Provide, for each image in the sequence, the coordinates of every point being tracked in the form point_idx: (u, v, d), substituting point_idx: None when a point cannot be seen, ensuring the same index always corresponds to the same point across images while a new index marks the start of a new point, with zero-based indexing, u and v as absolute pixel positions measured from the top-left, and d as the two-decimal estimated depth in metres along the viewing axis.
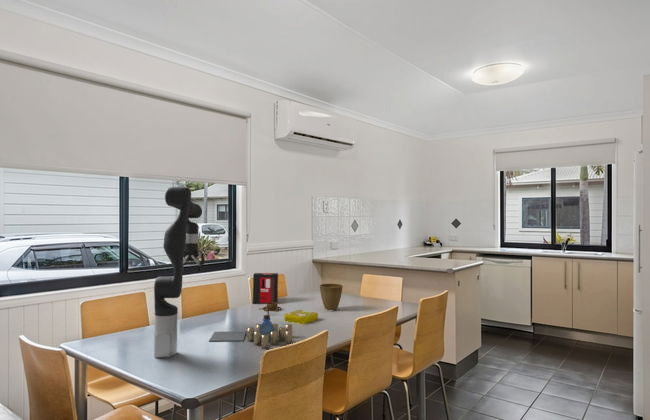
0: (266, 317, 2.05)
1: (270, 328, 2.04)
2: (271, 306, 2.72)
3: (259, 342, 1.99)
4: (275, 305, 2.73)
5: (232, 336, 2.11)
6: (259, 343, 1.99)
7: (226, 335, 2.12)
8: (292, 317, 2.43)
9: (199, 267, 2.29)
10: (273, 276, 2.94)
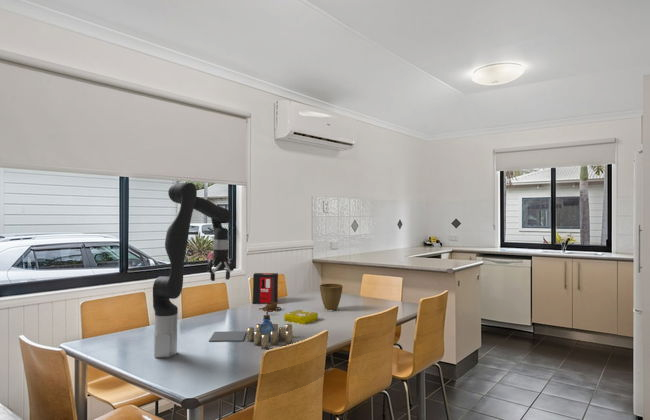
0: (266, 317, 2.05)
1: (270, 328, 2.04)
2: (271, 306, 2.72)
3: (259, 342, 1.99)
4: (275, 305, 2.73)
5: (232, 336, 2.11)
6: (259, 343, 1.99)
7: (226, 335, 2.12)
8: (292, 317, 2.43)
9: (229, 273, 2.23)
10: (273, 276, 2.94)
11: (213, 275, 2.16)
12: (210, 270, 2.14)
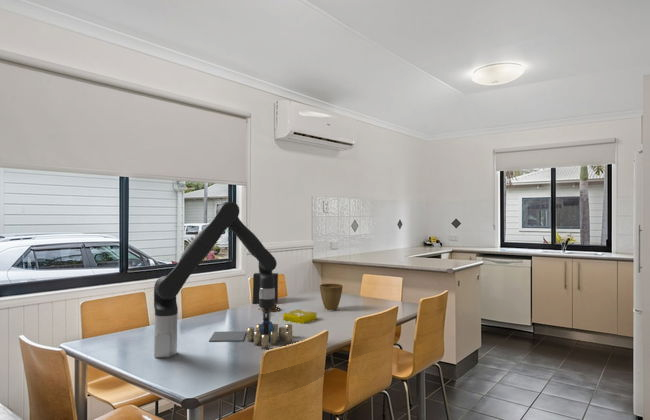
0: None
1: (270, 328, 2.04)
2: None
3: (259, 342, 1.99)
4: (274, 306, 2.71)
5: (232, 336, 2.11)
6: (259, 343, 1.99)
7: (226, 335, 2.12)
8: (290, 316, 2.44)
9: None
10: None
11: (268, 328, 2.03)
12: (268, 323, 2.01)
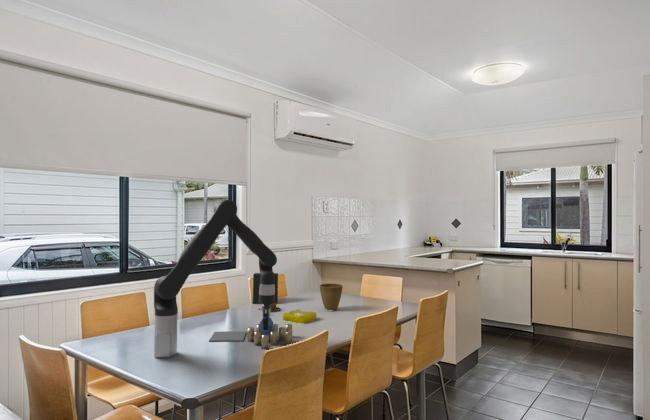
0: None
1: (270, 324, 2.04)
2: None
3: (259, 342, 1.99)
4: (273, 306, 2.71)
5: (232, 336, 2.11)
6: (259, 343, 1.99)
7: (226, 335, 2.12)
8: (290, 316, 2.44)
9: None
10: None
11: (267, 324, 2.03)
12: (268, 319, 2.01)
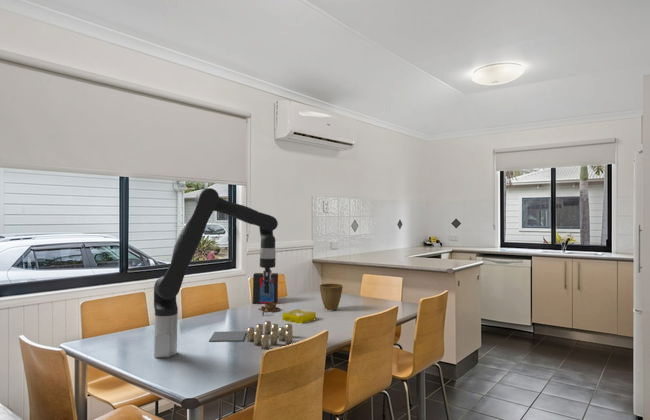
0: None
1: (271, 287, 2.04)
2: (269, 307, 2.70)
3: (259, 342, 1.99)
4: (273, 306, 2.71)
5: (232, 336, 2.11)
6: (259, 343, 1.99)
7: (226, 335, 2.12)
8: (290, 316, 2.45)
9: None
10: (273, 276, 2.94)
11: (268, 287, 2.03)
12: None
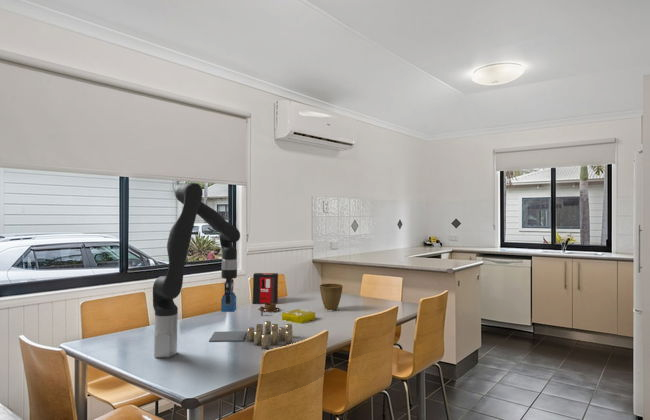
0: None
1: (232, 298, 2.09)
2: (268, 307, 2.69)
3: (259, 342, 1.99)
4: (272, 306, 2.70)
5: (232, 336, 2.11)
6: (259, 343, 1.99)
7: (226, 335, 2.12)
8: (289, 316, 2.45)
9: None
10: (273, 276, 2.94)
11: (229, 297, 2.08)
12: (229, 293, 2.06)
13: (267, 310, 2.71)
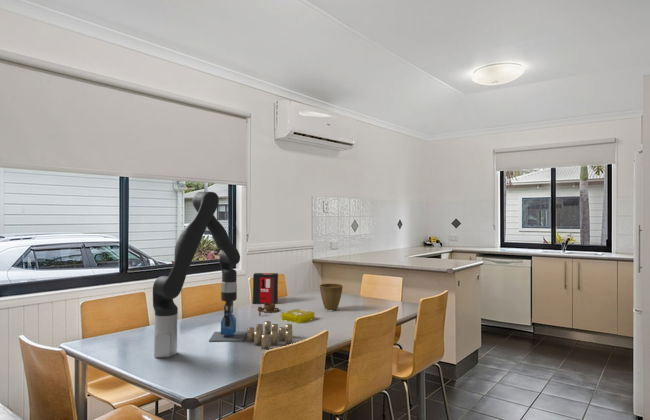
0: None
1: (231, 321, 2.09)
2: (267, 307, 2.69)
3: (259, 342, 1.99)
4: (272, 306, 2.69)
5: (232, 336, 2.11)
6: (259, 343, 1.99)
7: (226, 335, 2.12)
8: (288, 316, 2.46)
9: None
10: (273, 276, 2.94)
11: (229, 320, 2.08)
12: (229, 315, 2.06)
13: (266, 310, 2.71)
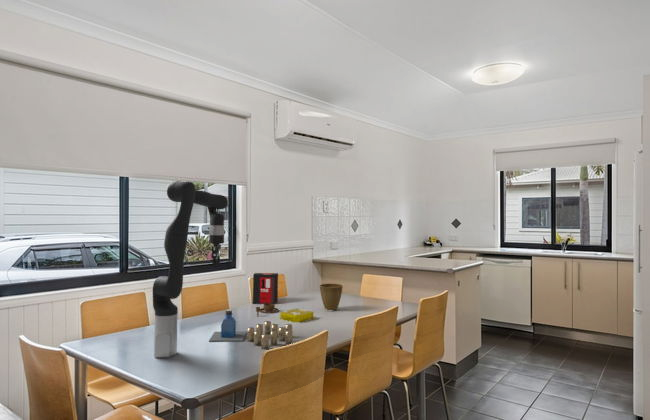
0: (228, 313, 2.11)
1: (232, 323, 2.09)
2: (266, 307, 2.68)
3: (259, 342, 1.99)
4: (271, 307, 2.68)
5: None
6: (259, 343, 1.99)
7: None
8: (287, 315, 2.47)
9: None
10: (273, 276, 2.94)
11: (216, 261, 2.16)
12: (216, 256, 2.14)
13: (265, 311, 2.70)
